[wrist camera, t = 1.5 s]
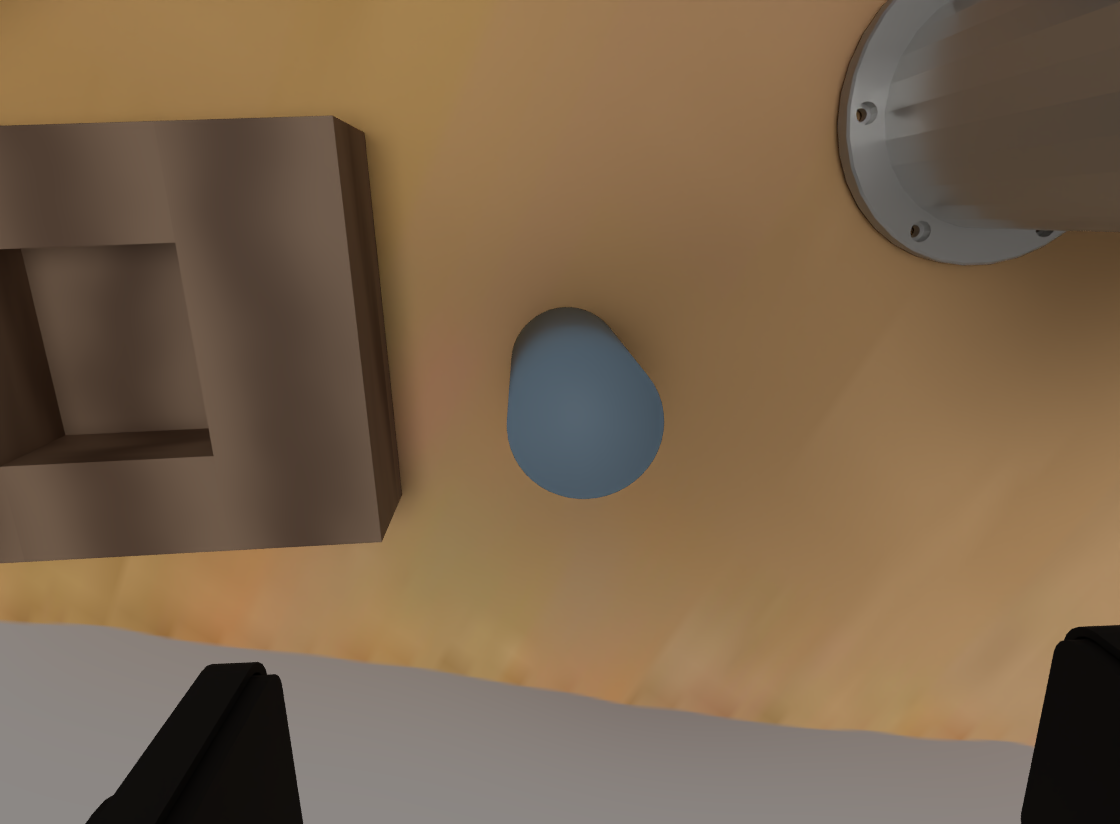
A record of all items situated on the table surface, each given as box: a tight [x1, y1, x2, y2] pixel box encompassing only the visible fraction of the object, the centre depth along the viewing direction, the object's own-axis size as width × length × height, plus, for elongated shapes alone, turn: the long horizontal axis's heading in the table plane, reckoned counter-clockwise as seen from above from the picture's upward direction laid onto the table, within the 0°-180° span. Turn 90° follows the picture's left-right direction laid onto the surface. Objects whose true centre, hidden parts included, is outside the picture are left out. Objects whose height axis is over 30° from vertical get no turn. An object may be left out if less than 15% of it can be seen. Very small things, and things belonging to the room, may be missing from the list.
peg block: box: [0, 116, 402, 563], centre depth 28 cm, size 20×16×5 cm
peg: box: [507, 307, 664, 499], centre depth 27 cm, size 5×5×10 cm
